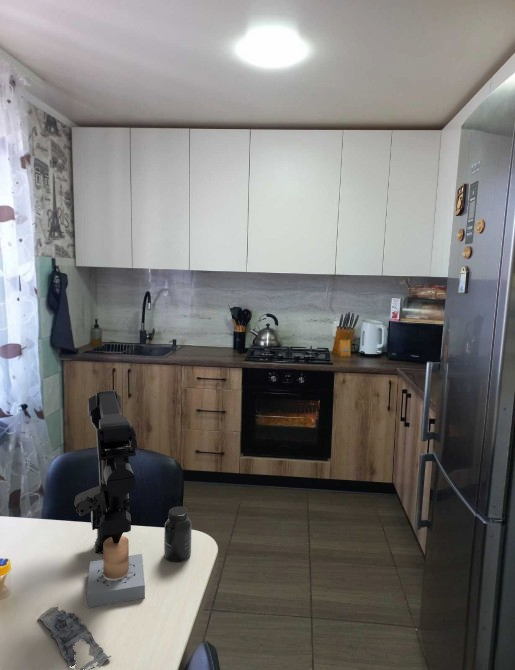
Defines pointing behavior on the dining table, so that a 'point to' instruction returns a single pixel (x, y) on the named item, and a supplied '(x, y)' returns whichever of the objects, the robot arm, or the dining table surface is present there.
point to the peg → (116, 559)
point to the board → (115, 584)
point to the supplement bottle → (177, 535)
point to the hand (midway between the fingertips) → (116, 542)
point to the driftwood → (72, 636)
